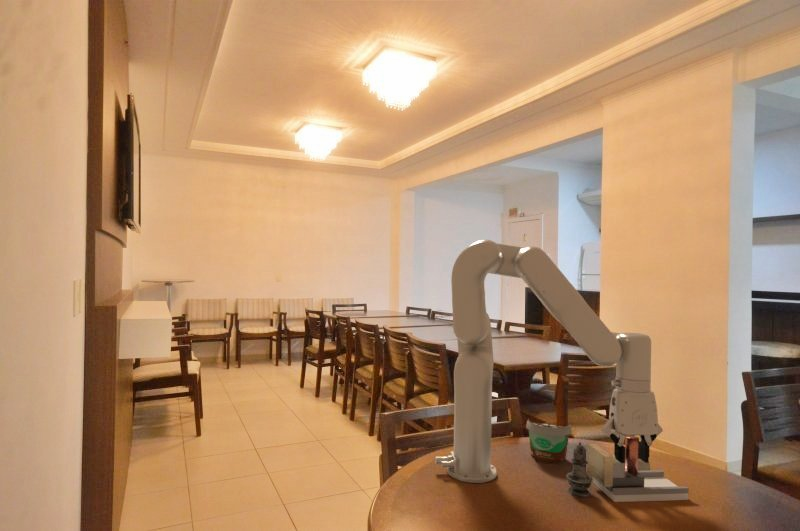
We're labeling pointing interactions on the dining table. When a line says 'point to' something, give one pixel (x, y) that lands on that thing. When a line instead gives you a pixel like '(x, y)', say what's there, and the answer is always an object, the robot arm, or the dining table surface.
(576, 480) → the grey figurine
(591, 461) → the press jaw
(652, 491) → the press bed
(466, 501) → the dining table surface
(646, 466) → the sea urchin shell
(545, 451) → the food container
